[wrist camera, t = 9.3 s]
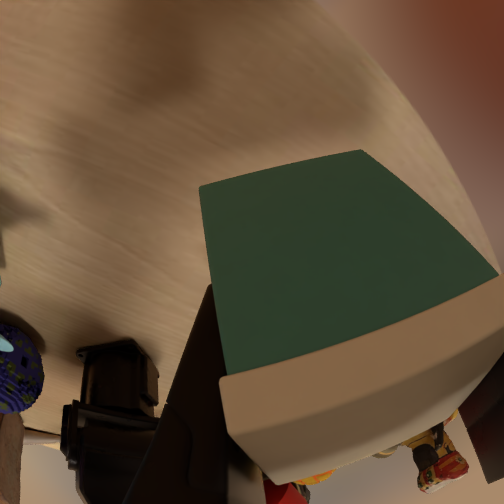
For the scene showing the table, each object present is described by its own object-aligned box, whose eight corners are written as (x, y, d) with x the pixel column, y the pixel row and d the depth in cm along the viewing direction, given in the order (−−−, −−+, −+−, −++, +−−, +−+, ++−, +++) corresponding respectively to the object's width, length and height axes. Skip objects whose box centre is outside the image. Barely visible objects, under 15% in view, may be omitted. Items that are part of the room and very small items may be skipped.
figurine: (384, 388, 45) (428, 491, 30) (342, 370, 37) (398, 512, 21) (445, 345, 41) (501, 447, 26) (423, 312, 33) (503, 454, 18)
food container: (232, 306, 11) (275, 486, 6) (192, 183, 8) (227, 436, 3) (361, 269, 11) (448, 418, 6) (364, 144, 8) (537, 303, 3)
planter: (54, 459, 32) (-34, 444, 27) (67, 454, 38) (-16, 443, 33) (48, 424, 35) (-39, 413, 30) (62, 423, 40) (-20, 414, 35)
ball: (-31, 325, 21) (19, 366, 26) (-53, 387, 15) (8, 426, 20) (3, 299, 21) (61, 348, 25) (-23, 373, 15) (49, 419, 19)
